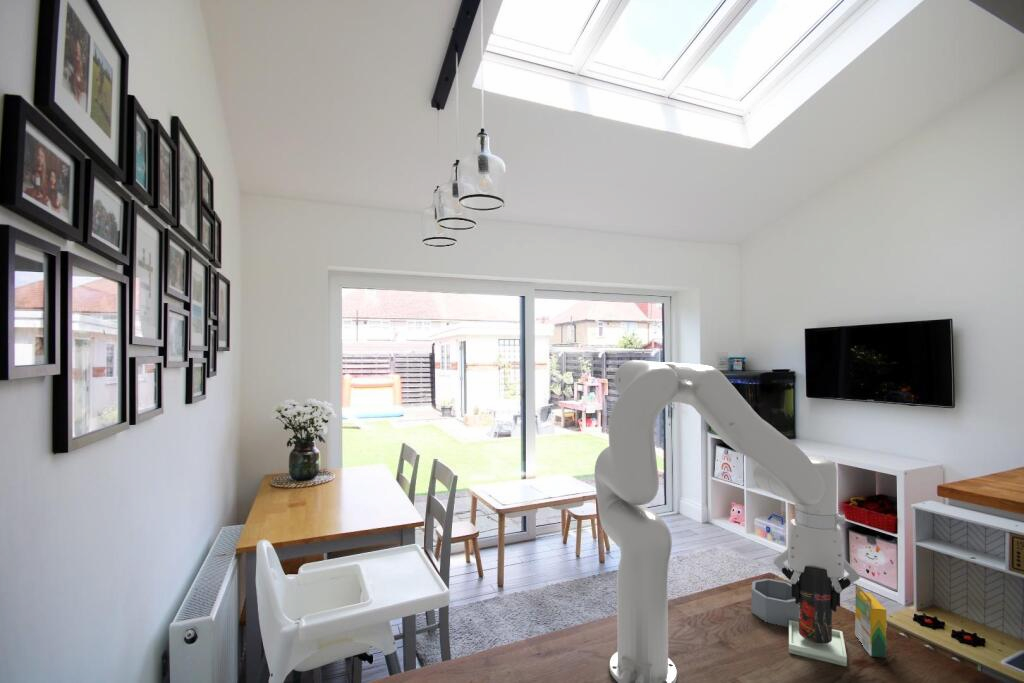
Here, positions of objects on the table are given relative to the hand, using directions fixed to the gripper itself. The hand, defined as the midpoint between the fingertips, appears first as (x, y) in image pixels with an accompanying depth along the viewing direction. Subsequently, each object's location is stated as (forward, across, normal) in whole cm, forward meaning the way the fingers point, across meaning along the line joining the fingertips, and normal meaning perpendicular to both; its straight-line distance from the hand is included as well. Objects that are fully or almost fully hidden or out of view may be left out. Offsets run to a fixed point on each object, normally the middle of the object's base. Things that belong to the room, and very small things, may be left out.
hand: (815, 603), depth 109 cm
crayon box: (+9, -10, -5) cm, 14 cm away
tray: (+9, 0, 0) cm, 9 cm away
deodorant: (+7, 0, 0) cm, 7 cm away
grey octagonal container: (+9, +7, -11) cm, 16 cm away
